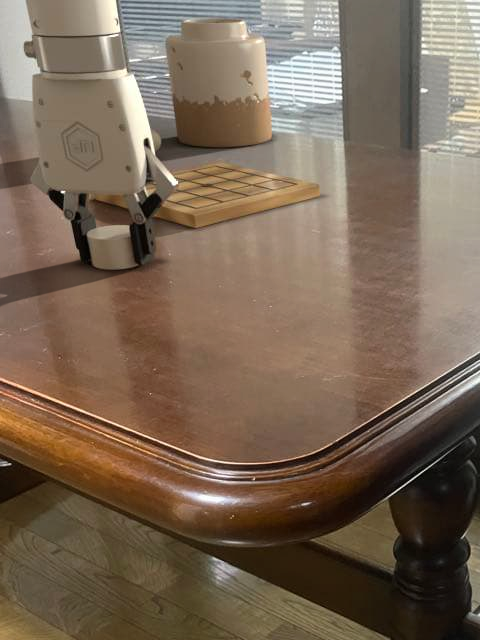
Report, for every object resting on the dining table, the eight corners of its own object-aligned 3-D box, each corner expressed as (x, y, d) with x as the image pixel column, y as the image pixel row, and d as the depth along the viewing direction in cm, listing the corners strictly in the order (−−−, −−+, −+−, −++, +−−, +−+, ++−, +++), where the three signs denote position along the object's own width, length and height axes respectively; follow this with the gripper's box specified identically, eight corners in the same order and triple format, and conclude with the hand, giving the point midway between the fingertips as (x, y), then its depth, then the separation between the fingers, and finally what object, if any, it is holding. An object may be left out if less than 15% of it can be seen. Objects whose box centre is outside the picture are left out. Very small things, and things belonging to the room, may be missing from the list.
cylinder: (82, 262, 89) (75, 232, 87) (125, 251, 92) (120, 222, 91) (111, 273, 86) (105, 242, 85) (155, 261, 90) (150, 231, 88)
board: (95, 199, 110) (92, 186, 109) (219, 173, 123) (218, 161, 122) (195, 228, 100) (193, 214, 99) (320, 196, 112) (319, 183, 111)
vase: (161, 137, 145) (145, 19, 135) (242, 127, 152) (232, 15, 143) (206, 152, 135) (191, 26, 125) (290, 140, 143) (282, 21, 133)
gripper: (-29, 59, 77) (21, 265, 87) (153, 64, 75) (183, 276, 85) (17, 50, 83) (59, 244, 93) (187, 54, 81) (211, 253, 91)
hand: (117, 257), depth 89 cm, fingers closed on cylinder, 5 cm apart
